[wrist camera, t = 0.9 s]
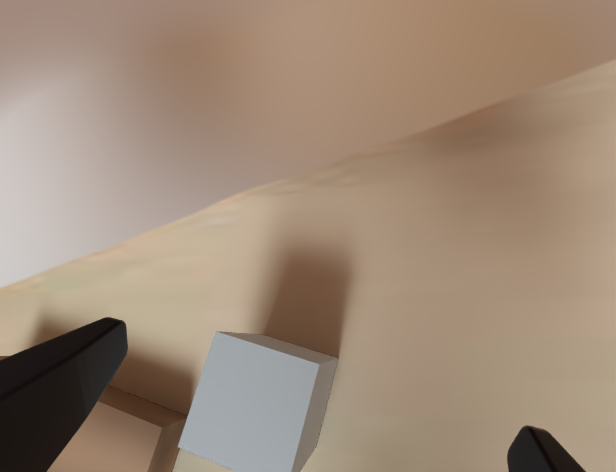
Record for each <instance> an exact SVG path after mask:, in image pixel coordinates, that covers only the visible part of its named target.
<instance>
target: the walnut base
mask: <svg viewBox="0 0 616 472" xmlns="http://www.w3.org/2000/svg"><path fill="white" fill-rule="evenodd" d="M7 357H9V356H0V360H2V359H4V358H7ZM186 420H187V416H185V415H182V414H180V413H177V412H175V411H172V410H170V409H167V408H165V407H162V406H160V405H157V404H155V403H152V402H149V401H147V400H144V399H142V398H139V397H137V396H134V395H132V394H129V393H127V392H124V391H122V390H119V389H117V388H114V387H111V386H109V385H108V386H107V387H106V389H105V390H104V392H103V394H102V395H101V397H100V398H99V400H98V402H97V403H96V405H95V407H94V408H93V410H92V411H91V413H90V414H89V416H88V417H87V419H86V420H85V421H84V423H83V424H82V426H81V427H80V428H79V430H78V431H77V432H76V434H75V435H74V436H73V438H72V439H71V440H70V442H69V443H68V444H67V445H66V447H65V448H64V449H63V451H62V452H61V453H60V455H59V456H58V457H57V459H56V460H55V461H54V463H53V464H52V465H51V467H50V468H49V469H48V471H47V472H172V470H173V467H174V464H175V461H176V458H177V455H178V451H179V448H178V445H179V441H180V438H181V435H182V432H183V429H184V426H185V423H186Z"/></svg>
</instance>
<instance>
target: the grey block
mask: <svg viewBox="0 0 616 472" xmlns="http://www.w3.org/2000/svg"><path fill="white" fill-rule="evenodd" d="M338 359H339V358H336V357H333V356H330V355H326V354H323V353H320V352H317V351H314V350H310V349H307V348H304V347H301V346H297V345H294V344H291V343H288V342H285V341H281V340H278V339H275V338H272V337H268V336H265V335H259V334H246V333H232V332H219V331H216V332H215V335H214V338H213V341H212V344H211V347H210V350H209V353H208V356H207V359H206V362H205V365H204V368H203V372H202V375H201V378H200V381H199V384H198V387H197V390H196V393H195V396H194V399H193V402H192V405H191V408H190V411H189V414H188V417H187V420H186V423H185V426H184V429H183V432H182V435H181V438H180V441H179V445H178V448H181V449H183V450H185V451H188V452H190V453H192V454H195V455H197V456H200V457H202V458H204V459H207V460H209V461H211V462H214V463H216V464H218V465H221V466H223V467H225V468H228V469H230V470H233V471H235V472H300V471H301V469H302V468H303V466H304V465H305V463H306V462H307V460H308V458H309V457H310V455H311V454H312V452H313V451H314V449H315V448H316V446H317V442H318V438H319V434H320V430H321V426H322V422H323V418H324V414H325V410H326V406H327V402H328V398H329V394H330V390H331V386H332V382H333V378H334V374H335V370H336V366H337V362H338Z"/></svg>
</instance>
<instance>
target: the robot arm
mask: <svg viewBox="0 0 616 472" xmlns="http://www.w3.org/2000/svg"><path fill="white" fill-rule="evenodd" d="M127 350H128V343H127V331H126V324H125V322H124V321H122V320H118V319H115V318H111V317H106V318H103V319H100V320H98V321H95V322H93V323H90V324H88V325H86V326H83V327H81V328H78V329H76V330H73V331H71V332H68V333H66V334H63V335H61V336H58V337H56V338H53V339H51V340H49V341H46V342H44V343H41V344H39V345H36V346H34V347H31V348H29V349H26V350H24V351H21V352H19V353H16V354H14V355H12V356H9V357H7V358H4V359H2V360H0V472H47V471H48V469H49V468H50V467H51V465H52V464H53V463H54V461H55V460H56V459H57V457H58V456H59V455H60V453H61V452H62V451H63V449H64V448H65V447H66V445H67V444H68V443H69V442H70V440H71V439H72V438H73V436H74V435H75V434H76V432H77V431H78V430H79V428H80V427H81V426H82V424H83V423H84V421H85V420H86V419H87V417H88V416H89V414H90V413H91V411H92V410H93V408H94V407H95V405H96V403H97V402H98V400H99V398H100V397H101V395H102V394H103V392H104V390H105V389H106V387H107V386H108V384H109V382H110V381H111V379H112V377H113V376H114V374H115V373H116V371H117V369H118V368H119V366H120V365H121V363H122V361H123V360H124V358H125V356H126V354H127ZM507 462H508V469H509V472H586V471H585V470H584V469H583V468H582V467H581V466H580V465H579V464H578V463H577V462H576V461H575V460H574V458H573V457H572V456H571V455H570V454H569V453H568V452H567V451H566V450H565V449H564V448H563V447H562V446H561V445H560V444H559V442H558V441H557V440H556V439H555V438H554V437H553V436H552V435H551V434H550V433H549V432H548V431H546V430H544V429H540V428H536V427H532V426H529V425H526V426H524V427H522V428H521V430H520V432H519V433H518V435H517V436H516V438H515V440H514V441H513V443H512V445H511V446H510V448H509V450H508V455H507Z"/></svg>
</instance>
